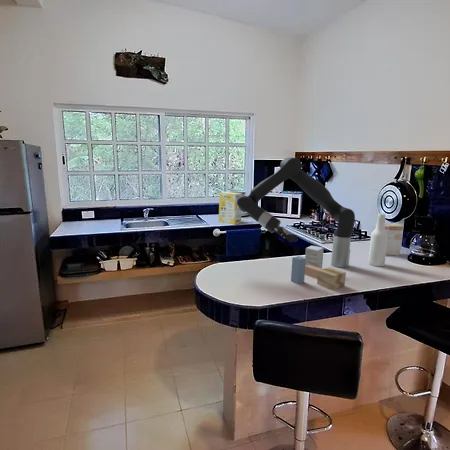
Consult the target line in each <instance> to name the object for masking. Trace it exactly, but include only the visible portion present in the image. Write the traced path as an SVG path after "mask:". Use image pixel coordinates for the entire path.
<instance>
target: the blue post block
mask: <svg viewBox="0 0 450 450" xmlns="http://www.w3.org/2000/svg"><path fill="white" fill-rule="evenodd" d="M291 261H292V262H291V273H290V282H292V283H295V284H297V285H299V284H302V283H305V277H306V276H305V275H306V274H305V263H306V258H305V257H303V256H299V255H297V256H294V257H292V260H291Z"/></svg>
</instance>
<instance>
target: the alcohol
mask: <svg viewBox="0 0 450 450" xmlns="http://www.w3.org/2000/svg"><path fill="white" fill-rule="evenodd" d="M377 214H378V215H377V220H376V224H377V225H376V224H375V228H376V229H373V231H372V232H371V234H370V241H369V242H370V244H369V250H368V251H369V254H368V261H367V262H368V265H369V266H373V267H377V268H378V267H384V266H385V263H386V256H387V255H386V249H387V240H388V234H387V232H386V231H385V224H386V218H387V217H386V216H387V214H386V213H381V212H379V213H377Z"/></svg>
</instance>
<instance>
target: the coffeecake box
mask: <svg viewBox="0 0 450 450" xmlns="http://www.w3.org/2000/svg"><path fill="white" fill-rule="evenodd" d="M376 225H377V223H375V226H376ZM375 229H376V227H375ZM375 229H374V230H375ZM385 231H386V232H387V234H388V240H387V249H386V256H399V257H400V256H401V249H402V248H401V247H402V240H403V232H404V225H401V224H399V223H385Z"/></svg>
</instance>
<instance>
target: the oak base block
mask: <svg viewBox="0 0 450 450" xmlns="http://www.w3.org/2000/svg"><path fill="white" fill-rule="evenodd" d="M346 275H347V274H346V272H345V271H343V270H339V269H336V268H334V267H326V268H322V269H321V270H318V279H317V280H316V282H317V283H316V284H317V285H319V286H321V287H324V288H326V289H329V290H332V291H333V290H337V289H340V288H344V287H345V284H346Z"/></svg>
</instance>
